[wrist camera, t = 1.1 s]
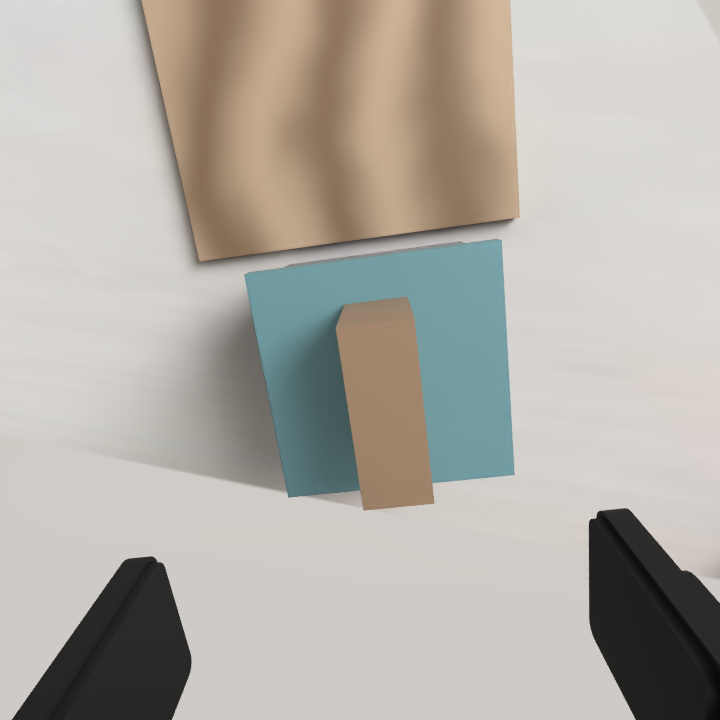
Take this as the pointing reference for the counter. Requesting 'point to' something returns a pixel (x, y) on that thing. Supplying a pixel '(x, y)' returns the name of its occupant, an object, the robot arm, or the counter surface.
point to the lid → (387, 371)
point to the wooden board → (336, 117)
